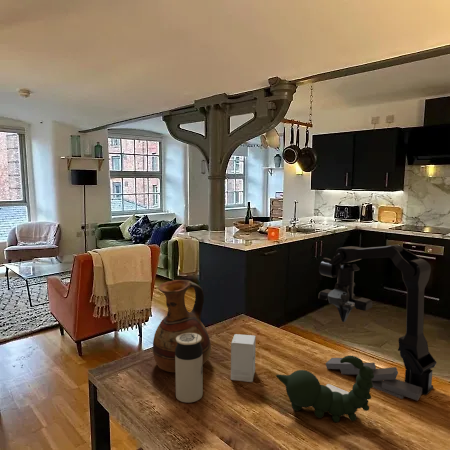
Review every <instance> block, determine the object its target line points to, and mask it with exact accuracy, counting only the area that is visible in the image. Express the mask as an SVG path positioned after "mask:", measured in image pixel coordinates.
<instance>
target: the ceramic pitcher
mask: <svg viewBox="0 0 450 450" xmlns="http://www.w3.org/2000/svg"><path fill="white" fill-rule="evenodd" d="M190 288H193V289H194V293H195V299H194V305H193V307H192V309H191V310H190V311H189V310H188V309H187V307H186V304H185V303H186V302H185V295H186V292H187V291H188V290H189V289H190ZM158 290H159V291H160V292H161V293H162V294H164V296H165V299H166V301H165V303H166V307H167V313H166V316H165V317H164V318H163V319H162V320H161V321H160V323H159V324H158V325H157V327H156V330H155V332H154V337H153V341H152V353H153V358H154V361H155V363H156V365H157V366H158V368H159V369H161V370H162V371H166V372H168V373H169V372H170V373H176V372H175V348H176V346H177V341H176V337H177V336H179V335H181V334H184V333H196V334H199V335H200V336H201V338H202V339H201V341H200V344H201V346H202V358H203V365H204V364H205V363H206V362H207V361H208V360H209V358H210V356H211V352H212V351H211V350H212V344H211V343H212V342H211V339H210V335H209V331H208V330H207V328H206V326H205V324H204V323H203V322H202V321H201V315H202V311H203V307H204V302H205V294H204V291H203V288H202V287H201V286H200V285H199V284H197V283H195V282H193V281H191V280H187V279H173V280H171V281H165V282H163V283H161V284H159V285H158Z"/></svg>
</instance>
